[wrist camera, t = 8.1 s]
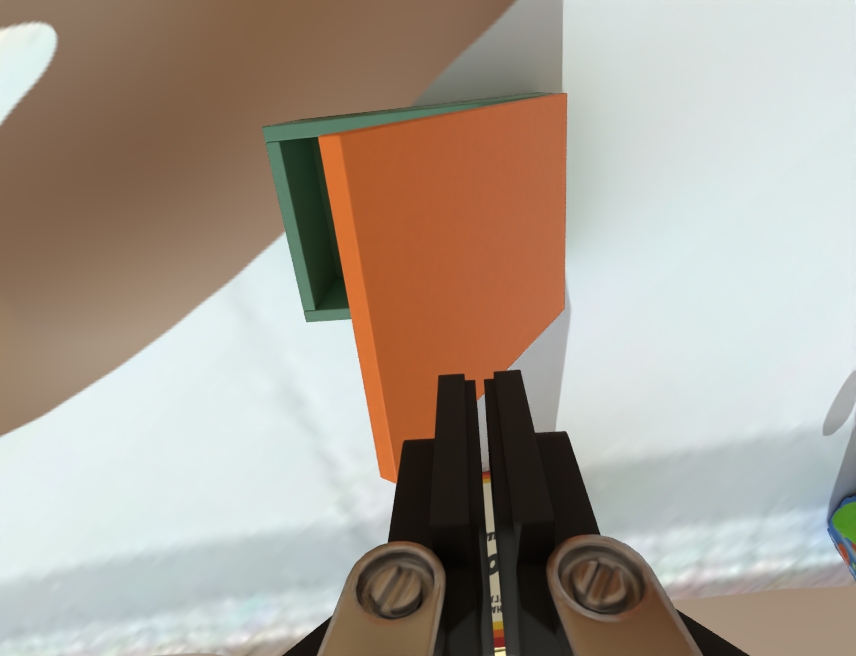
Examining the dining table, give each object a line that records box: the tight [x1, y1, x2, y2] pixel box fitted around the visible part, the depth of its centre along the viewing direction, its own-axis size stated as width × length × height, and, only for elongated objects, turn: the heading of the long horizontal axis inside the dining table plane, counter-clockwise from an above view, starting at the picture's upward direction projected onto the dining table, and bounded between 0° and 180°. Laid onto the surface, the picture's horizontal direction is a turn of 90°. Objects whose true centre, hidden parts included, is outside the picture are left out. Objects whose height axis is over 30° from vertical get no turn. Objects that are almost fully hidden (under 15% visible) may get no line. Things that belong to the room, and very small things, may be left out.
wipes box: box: [262, 93, 552, 322], centre depth 32 cm, size 16×12×7 cm
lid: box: [318, 93, 567, 484], centre depth 21 cm, size 16×12×1 cm
